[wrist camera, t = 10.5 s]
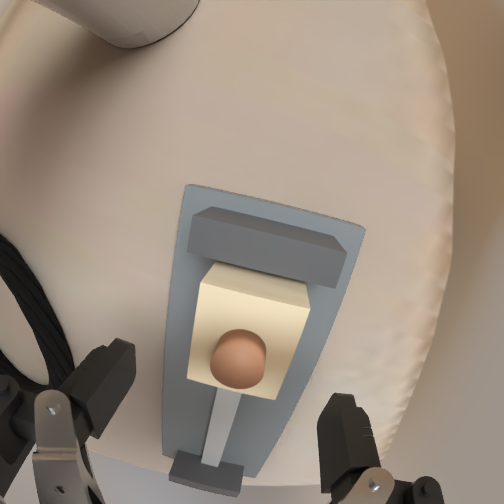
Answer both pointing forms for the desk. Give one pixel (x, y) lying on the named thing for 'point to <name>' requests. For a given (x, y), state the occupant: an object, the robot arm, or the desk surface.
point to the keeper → (246, 329)
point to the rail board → (183, 316)
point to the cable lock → (34, 322)
